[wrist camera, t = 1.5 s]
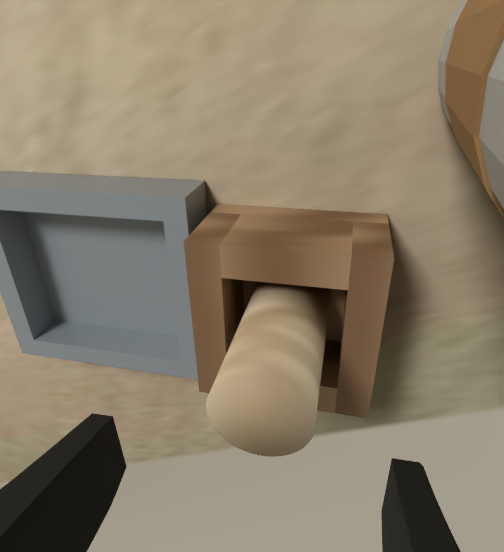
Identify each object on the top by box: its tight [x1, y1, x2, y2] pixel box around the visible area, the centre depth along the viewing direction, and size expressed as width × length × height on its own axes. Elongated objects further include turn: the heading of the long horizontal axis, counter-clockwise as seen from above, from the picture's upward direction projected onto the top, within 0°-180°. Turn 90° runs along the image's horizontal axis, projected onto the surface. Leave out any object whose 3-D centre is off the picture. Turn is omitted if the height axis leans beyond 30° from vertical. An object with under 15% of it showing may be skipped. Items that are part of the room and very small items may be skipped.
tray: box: [0, 171, 207, 379], centre depth 20 cm, size 10×9×2 cm
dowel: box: [206, 282, 330, 456], centre depth 15 cm, size 3×3×7 cm
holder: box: [184, 204, 394, 418], centre depth 17 cm, size 7×7×4 cm
